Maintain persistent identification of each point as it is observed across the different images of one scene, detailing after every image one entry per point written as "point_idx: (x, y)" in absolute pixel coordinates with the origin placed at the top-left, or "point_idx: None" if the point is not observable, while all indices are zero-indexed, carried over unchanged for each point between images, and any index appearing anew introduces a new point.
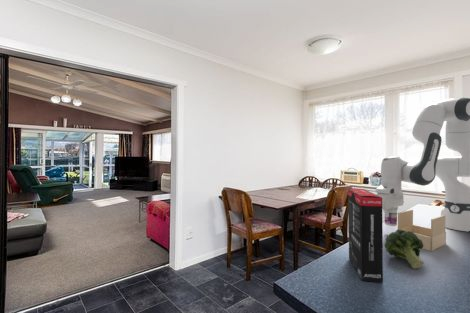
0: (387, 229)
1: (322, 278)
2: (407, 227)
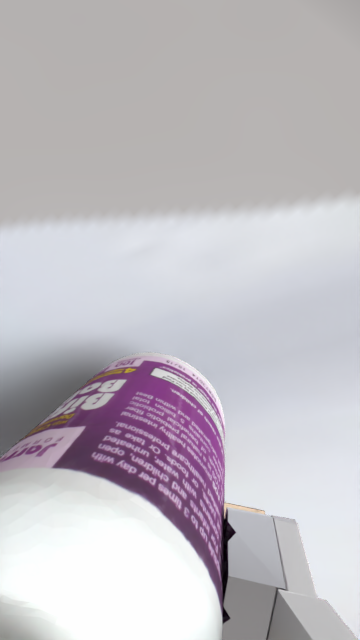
0: (314, 303)
1: None
2: None
